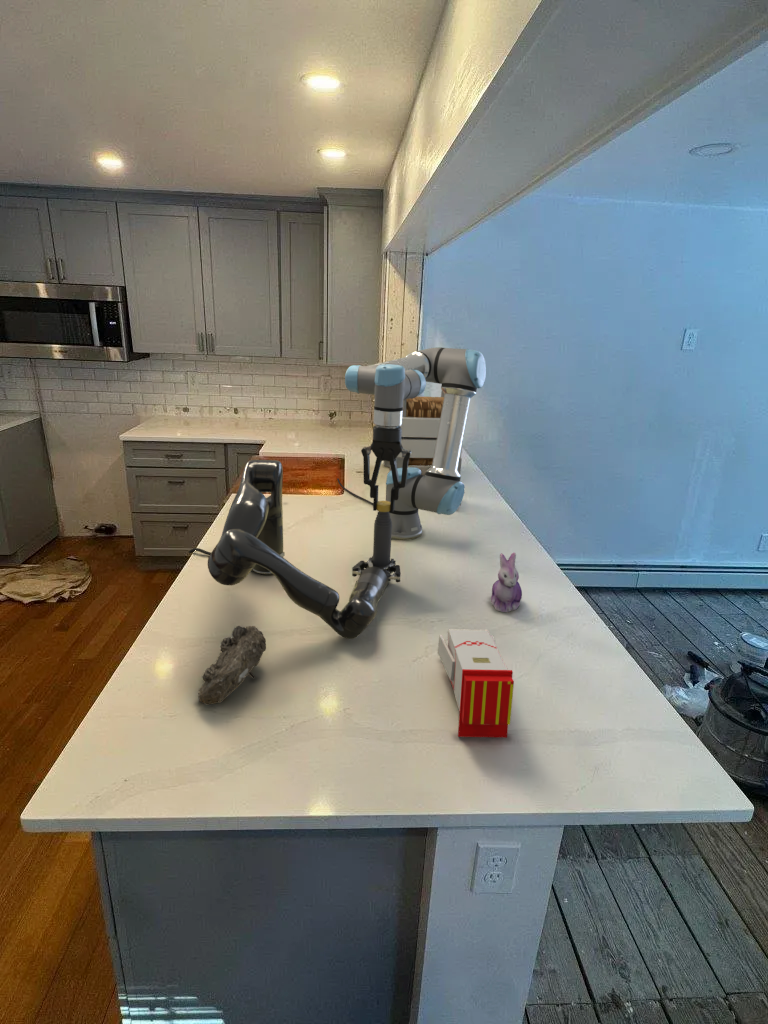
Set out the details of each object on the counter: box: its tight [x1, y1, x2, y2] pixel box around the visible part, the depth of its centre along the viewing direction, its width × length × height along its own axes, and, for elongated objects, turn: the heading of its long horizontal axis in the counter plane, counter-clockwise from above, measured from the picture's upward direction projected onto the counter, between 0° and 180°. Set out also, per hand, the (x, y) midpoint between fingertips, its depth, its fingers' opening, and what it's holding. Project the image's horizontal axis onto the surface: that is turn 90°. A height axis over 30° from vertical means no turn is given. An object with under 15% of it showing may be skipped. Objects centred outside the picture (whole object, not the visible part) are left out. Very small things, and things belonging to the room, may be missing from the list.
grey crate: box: [383, 390, 464, 475], centre depth 268 cm, size 34×33×41 cm
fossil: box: [197, 625, 267, 705], centre depth 118 cm, size 22×10×15 cm
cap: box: [376, 500, 391, 512], centre depth 156 cm, size 4×4×2 cm
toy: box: [437, 628, 515, 738], centre depth 117 cm, size 12×13×30 cm
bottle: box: [372, 511, 392, 587], centre depth 160 cm, size 5×5×24 cm
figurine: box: [490, 551, 523, 613], centre depth 152 cm, size 9×10×15 cm
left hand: (383, 560), depth 164 cm, fingers closed on bottle, 5 cm apart
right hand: (383, 509), depth 156 cm, fingers closed on cap, 4 cm apart
